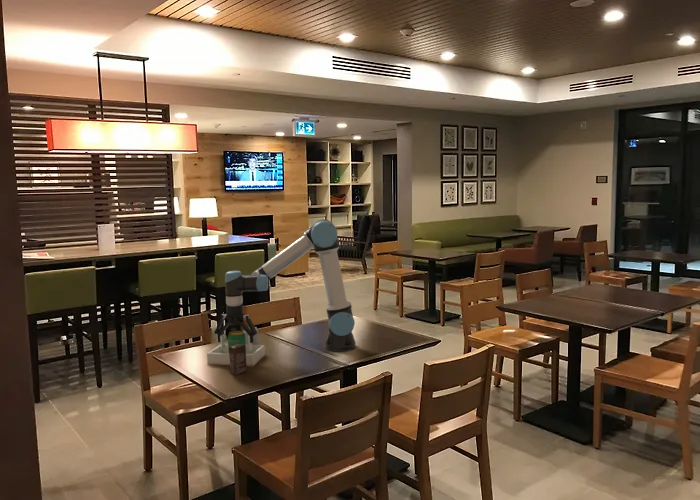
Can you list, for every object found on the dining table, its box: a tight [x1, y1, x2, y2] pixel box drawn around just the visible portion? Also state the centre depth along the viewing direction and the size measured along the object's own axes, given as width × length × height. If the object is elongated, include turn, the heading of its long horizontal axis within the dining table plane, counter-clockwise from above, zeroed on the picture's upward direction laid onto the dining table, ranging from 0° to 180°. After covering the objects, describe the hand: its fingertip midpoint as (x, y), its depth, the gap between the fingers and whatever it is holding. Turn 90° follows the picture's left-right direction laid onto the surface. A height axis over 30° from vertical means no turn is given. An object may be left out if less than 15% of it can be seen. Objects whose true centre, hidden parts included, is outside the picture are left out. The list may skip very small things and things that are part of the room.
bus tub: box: [206, 343, 266, 367], centre depth 263 cm, size 22×16×5 cm
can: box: [243, 326, 260, 345], centre depth 275 cm, size 8×8×12 cm
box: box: [229, 344, 248, 376], centre depth 244 cm, size 6×4×12 cm
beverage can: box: [227, 330, 246, 351], centre depth 263 cm, size 8×8×12 cm
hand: (236, 349), depth 263 cm, fingers open, 13 cm apart
